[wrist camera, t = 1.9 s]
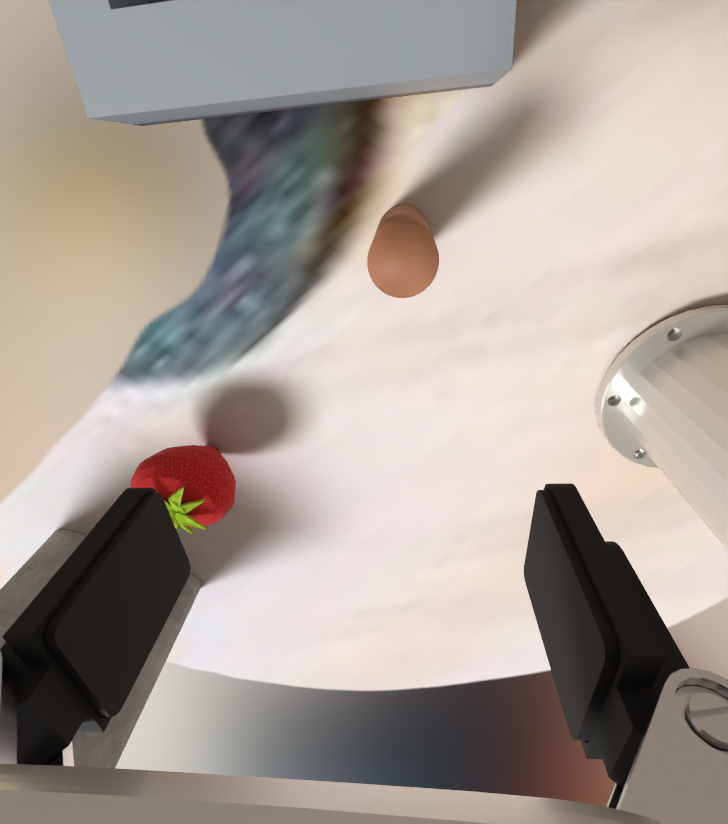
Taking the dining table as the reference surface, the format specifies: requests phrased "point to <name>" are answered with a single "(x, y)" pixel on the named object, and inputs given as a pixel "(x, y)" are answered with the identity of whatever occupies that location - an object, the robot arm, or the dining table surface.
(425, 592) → the dining table surface
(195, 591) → the hip flask
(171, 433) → the dining table surface
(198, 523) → the strawberry
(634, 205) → the dining table surface
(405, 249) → the pin
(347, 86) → the hole block
